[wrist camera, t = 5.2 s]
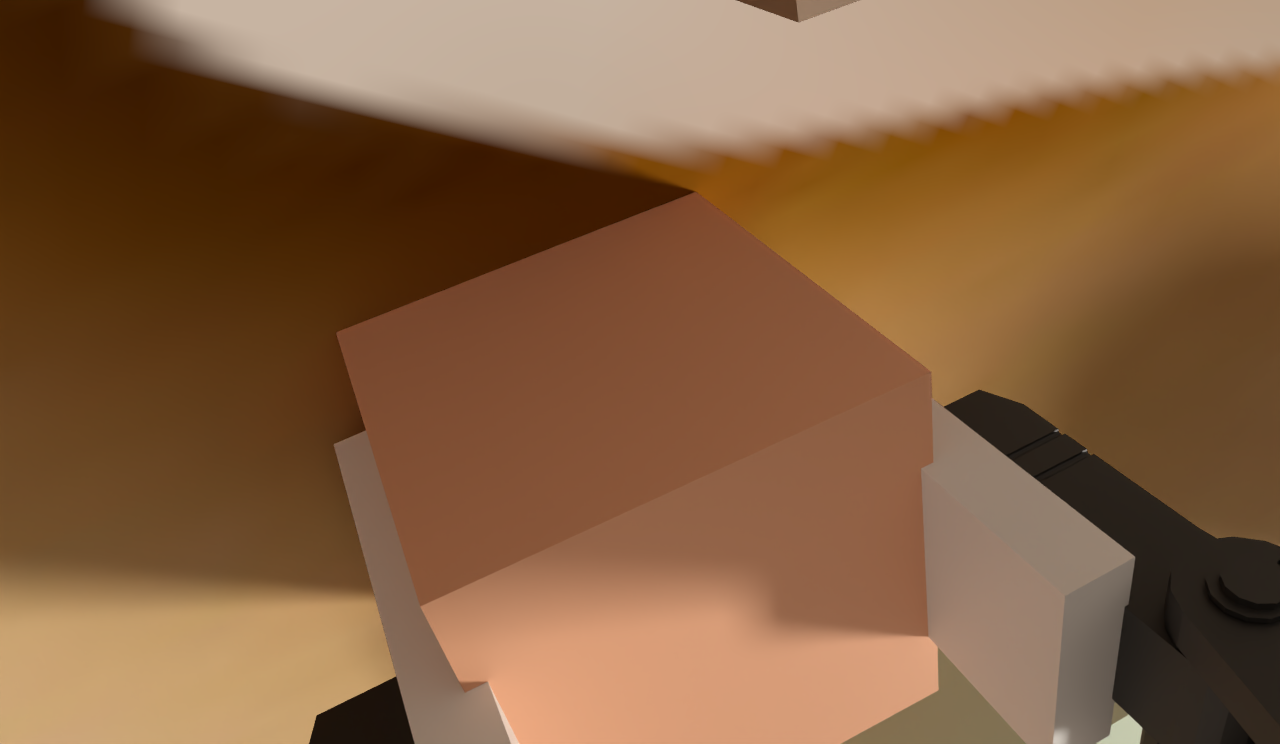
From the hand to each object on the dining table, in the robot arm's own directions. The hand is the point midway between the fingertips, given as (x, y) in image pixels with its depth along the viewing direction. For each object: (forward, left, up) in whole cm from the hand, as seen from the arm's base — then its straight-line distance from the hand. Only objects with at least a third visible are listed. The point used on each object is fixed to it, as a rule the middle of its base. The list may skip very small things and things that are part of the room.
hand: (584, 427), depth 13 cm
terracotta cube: (0, 0, -1) cm, 1 cm away
